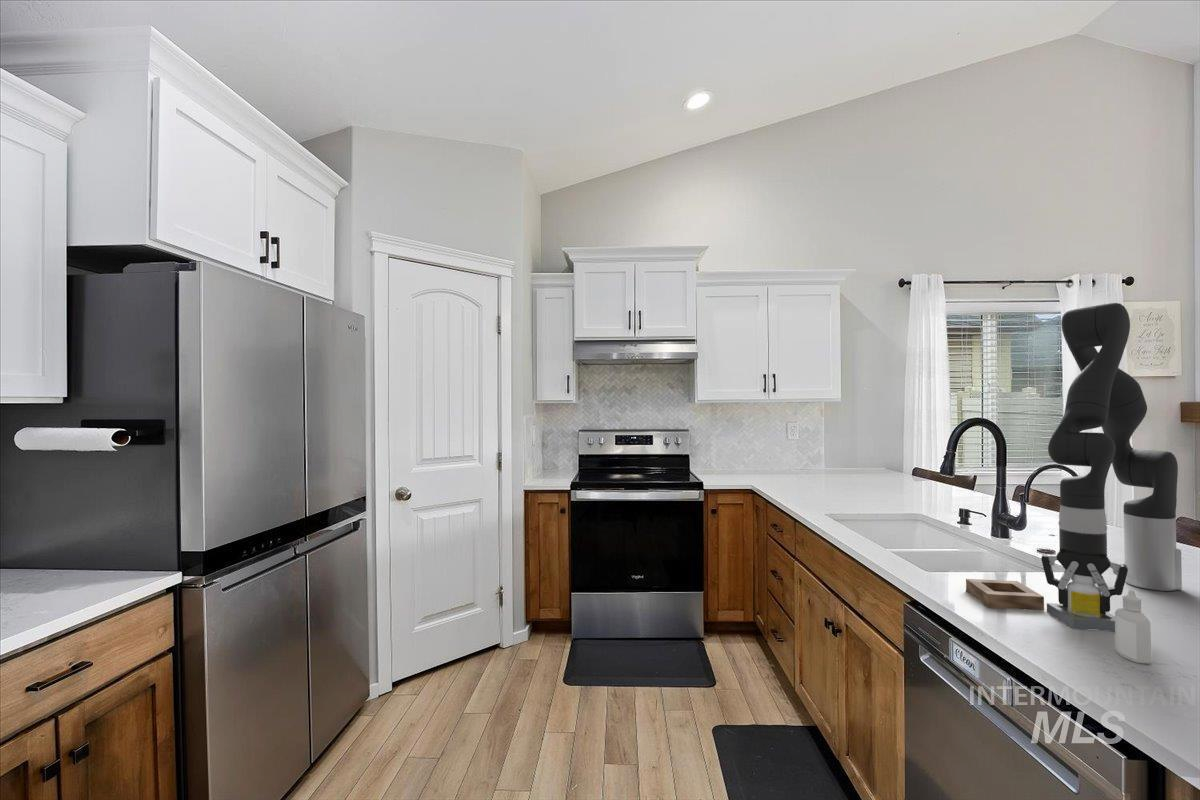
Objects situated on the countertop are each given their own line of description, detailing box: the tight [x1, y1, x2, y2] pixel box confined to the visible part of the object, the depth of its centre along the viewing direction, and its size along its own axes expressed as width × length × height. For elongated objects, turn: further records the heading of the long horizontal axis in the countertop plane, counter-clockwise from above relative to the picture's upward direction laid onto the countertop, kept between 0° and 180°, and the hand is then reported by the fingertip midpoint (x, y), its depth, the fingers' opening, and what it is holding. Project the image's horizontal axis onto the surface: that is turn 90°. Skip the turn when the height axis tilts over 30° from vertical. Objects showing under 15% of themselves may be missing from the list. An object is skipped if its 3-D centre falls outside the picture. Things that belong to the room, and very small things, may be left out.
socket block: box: [965, 578, 1045, 612], centre depth 130 cm, size 11×11×3 cm
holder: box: [1046, 602, 1115, 632], centre depth 117 cm, size 9×9×2 cm
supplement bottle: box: [1066, 574, 1101, 618], centre depth 117 cm, size 5×5×10 cm
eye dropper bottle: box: [1114, 589, 1152, 665], centre depth 101 cm, size 4×6×12 cm
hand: (1083, 609), depth 117 cm, fingers closed on supplement bottle, 5 cm apart
